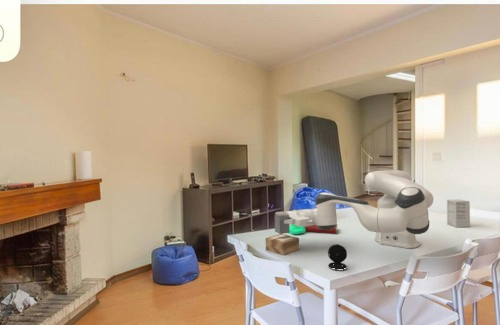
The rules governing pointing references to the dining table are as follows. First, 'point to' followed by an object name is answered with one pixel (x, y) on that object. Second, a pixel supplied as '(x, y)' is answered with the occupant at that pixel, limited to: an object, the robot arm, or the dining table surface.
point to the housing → (281, 222)
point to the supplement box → (458, 213)
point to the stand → (282, 244)
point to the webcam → (337, 256)
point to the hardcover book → (317, 230)
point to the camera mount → (296, 229)
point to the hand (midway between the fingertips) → (280, 220)
